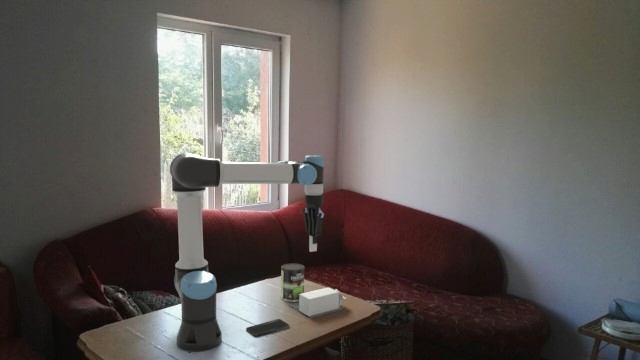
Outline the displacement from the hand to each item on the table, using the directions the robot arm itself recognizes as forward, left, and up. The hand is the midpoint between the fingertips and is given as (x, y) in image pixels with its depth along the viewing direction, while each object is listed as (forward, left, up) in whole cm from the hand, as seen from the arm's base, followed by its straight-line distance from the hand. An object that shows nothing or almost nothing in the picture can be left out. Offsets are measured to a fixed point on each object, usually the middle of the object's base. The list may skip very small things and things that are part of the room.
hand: (313, 250), depth 193 cm
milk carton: (-7, -3, -21) cm, 22 cm away
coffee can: (0, +15, -25) cm, 29 cm away
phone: (-25, -7, -25) cm, 36 cm away
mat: (+2, 0, -24) cm, 24 cm away
